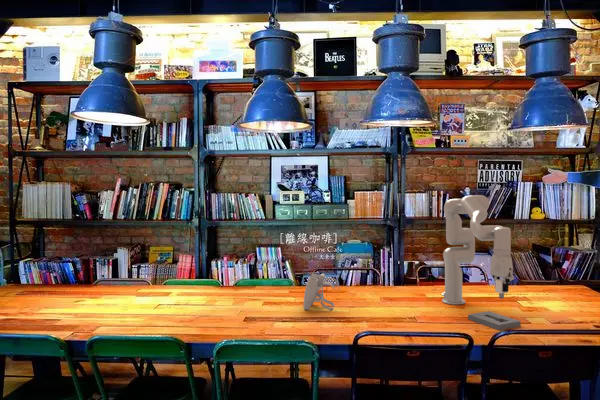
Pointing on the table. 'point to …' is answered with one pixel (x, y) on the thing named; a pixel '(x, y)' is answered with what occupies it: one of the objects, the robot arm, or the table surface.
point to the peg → (499, 287)
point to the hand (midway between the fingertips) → (501, 290)
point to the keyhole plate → (494, 320)
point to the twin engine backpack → (316, 291)
